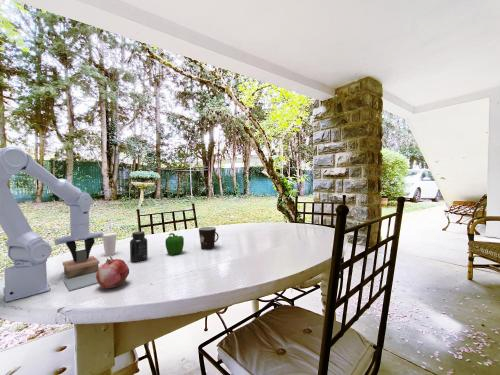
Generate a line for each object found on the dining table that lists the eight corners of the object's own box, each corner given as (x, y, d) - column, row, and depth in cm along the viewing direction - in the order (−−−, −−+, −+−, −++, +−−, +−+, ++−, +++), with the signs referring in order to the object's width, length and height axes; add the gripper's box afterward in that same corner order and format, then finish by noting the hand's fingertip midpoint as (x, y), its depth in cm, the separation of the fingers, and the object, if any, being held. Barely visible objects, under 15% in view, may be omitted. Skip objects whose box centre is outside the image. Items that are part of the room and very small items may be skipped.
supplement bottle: (126, 261, 98) (126, 233, 97) (140, 256, 104) (140, 230, 103) (137, 263, 94) (136, 234, 94) (151, 258, 100) (150, 231, 100)
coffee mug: (197, 247, 118) (196, 227, 118) (213, 244, 122) (213, 226, 122) (202, 253, 108) (202, 231, 107) (220, 250, 111) (219, 230, 111)
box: (68, 279, 80) (68, 270, 80) (64, 272, 86) (63, 264, 86) (98, 271, 86) (98, 263, 86) (92, 266, 93) (92, 258, 92)
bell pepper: (181, 249, 114) (180, 229, 113) (186, 254, 107) (185, 232, 106) (163, 252, 109) (162, 232, 109) (167, 257, 102) (167, 235, 102)
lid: (67, 271, 79) (66, 256, 79) (62, 264, 86) (62, 251, 86) (99, 263, 86) (99, 250, 86) (92, 258, 93) (92, 246, 93)
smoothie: (110, 257, 104) (109, 226, 104) (98, 256, 105) (97, 226, 105) (121, 252, 110) (120, 223, 110) (109, 252, 111) (108, 223, 111)
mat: (69, 291, 70) (69, 290, 70) (63, 281, 78) (63, 280, 78) (113, 279, 79) (113, 278, 79) (103, 271, 87) (103, 270, 87)
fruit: (126, 277, 81) (126, 249, 81) (131, 286, 73) (131, 255, 73) (95, 284, 75) (94, 254, 75) (97, 295, 68) (96, 262, 67)
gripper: (99, 220, 94) (100, 253, 94) (53, 225, 83) (54, 262, 84) (104, 222, 89) (105, 256, 89) (55, 227, 78) (57, 267, 79)
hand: (81, 259), depth 86 cm, fingers closed on lid, 3 cm apart
